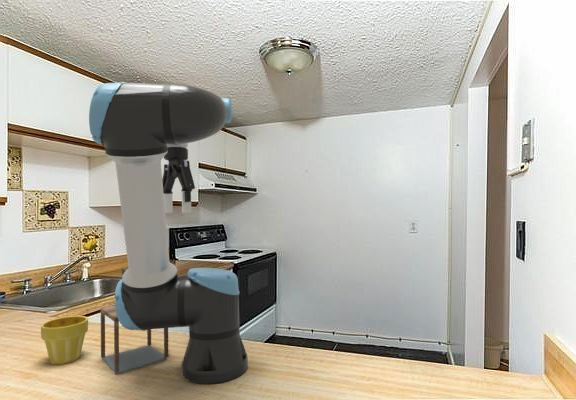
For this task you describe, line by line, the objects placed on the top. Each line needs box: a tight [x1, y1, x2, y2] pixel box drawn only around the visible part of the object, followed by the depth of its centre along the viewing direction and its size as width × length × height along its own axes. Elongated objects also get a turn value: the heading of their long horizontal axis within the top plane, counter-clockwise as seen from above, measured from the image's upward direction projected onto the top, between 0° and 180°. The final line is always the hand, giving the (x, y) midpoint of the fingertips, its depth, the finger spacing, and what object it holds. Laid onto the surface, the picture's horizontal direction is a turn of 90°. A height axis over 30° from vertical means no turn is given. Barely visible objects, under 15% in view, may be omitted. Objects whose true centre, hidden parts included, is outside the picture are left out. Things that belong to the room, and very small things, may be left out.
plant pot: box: [40, 315, 89, 365], centre depth 94 cm, size 10×10×10 cm
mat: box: [101, 344, 168, 375], centre depth 92 cm, size 12×12×1 cm
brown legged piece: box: [100, 267, 170, 374], centre depth 93 cm, size 13×13×22 cm
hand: (177, 213), depth 118 cm, fingers open, 13 cm apart
